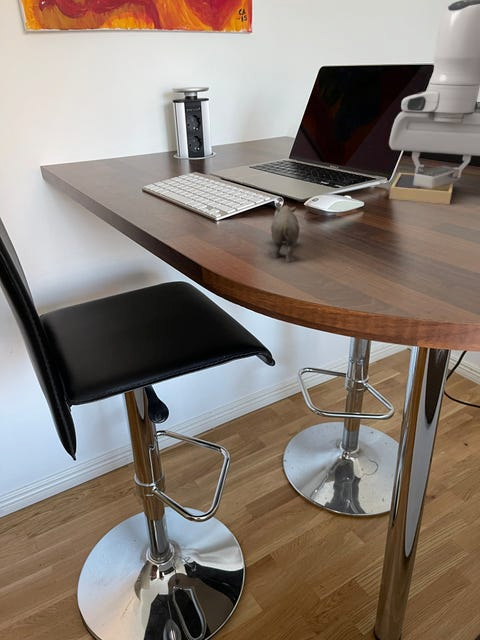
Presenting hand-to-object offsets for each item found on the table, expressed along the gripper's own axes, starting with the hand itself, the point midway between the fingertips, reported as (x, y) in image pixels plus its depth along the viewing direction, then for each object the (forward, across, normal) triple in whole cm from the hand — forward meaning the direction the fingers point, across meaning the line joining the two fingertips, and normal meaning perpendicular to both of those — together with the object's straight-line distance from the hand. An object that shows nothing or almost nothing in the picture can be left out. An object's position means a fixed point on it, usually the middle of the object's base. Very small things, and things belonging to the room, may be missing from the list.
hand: (437, 176), depth 100 cm
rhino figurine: (+4, +19, +40) cm, 44 cm away
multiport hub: (+2, 0, 0) cm, 2 cm away
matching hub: (+3, +5, 0) cm, 6 cm away
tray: (+4, +2, 0) cm, 4 cm away
